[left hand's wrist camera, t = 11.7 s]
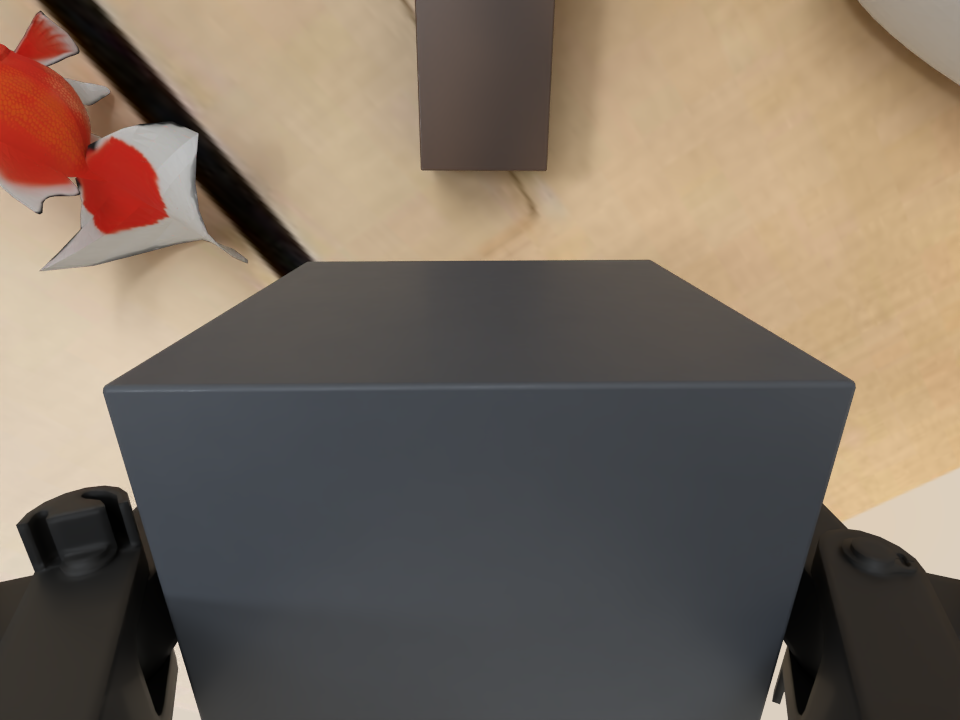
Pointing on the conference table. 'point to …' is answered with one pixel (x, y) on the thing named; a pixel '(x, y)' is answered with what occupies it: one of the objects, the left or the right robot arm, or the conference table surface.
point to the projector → (923, 29)
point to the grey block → (480, 493)
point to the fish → (92, 159)
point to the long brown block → (484, 83)
